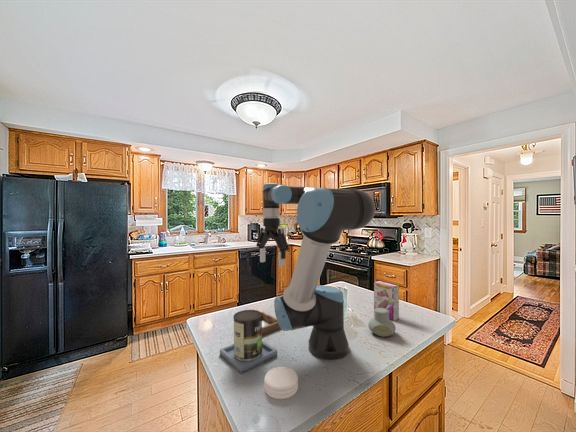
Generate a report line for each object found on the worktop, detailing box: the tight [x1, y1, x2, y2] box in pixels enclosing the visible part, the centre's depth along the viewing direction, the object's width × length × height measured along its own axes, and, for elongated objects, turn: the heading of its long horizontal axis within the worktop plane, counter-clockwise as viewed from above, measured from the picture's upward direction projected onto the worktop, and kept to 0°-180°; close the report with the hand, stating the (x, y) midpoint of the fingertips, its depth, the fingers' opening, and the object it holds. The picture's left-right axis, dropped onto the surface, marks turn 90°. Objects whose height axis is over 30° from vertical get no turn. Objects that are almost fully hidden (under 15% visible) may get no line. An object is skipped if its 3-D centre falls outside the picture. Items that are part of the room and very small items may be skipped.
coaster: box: [263, 366, 299, 400], centre depth 73 cm, size 10×10×4 cm
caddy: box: [260, 311, 281, 337], centre depth 113 cm, size 15×15×3 cm
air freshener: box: [368, 308, 396, 338], centre depth 106 cm, size 11×8×10 cm
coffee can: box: [233, 309, 263, 361], centre depth 90 cm, size 10×10×14 cm
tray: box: [219, 340, 278, 375], centre depth 90 cm, size 15×15×2 cm
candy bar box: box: [373, 280, 400, 322], centre depth 123 cm, size 11×5×16 cm, turn 34°
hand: (271, 264), depth 113 cm, fingers open, 13 cm apart
